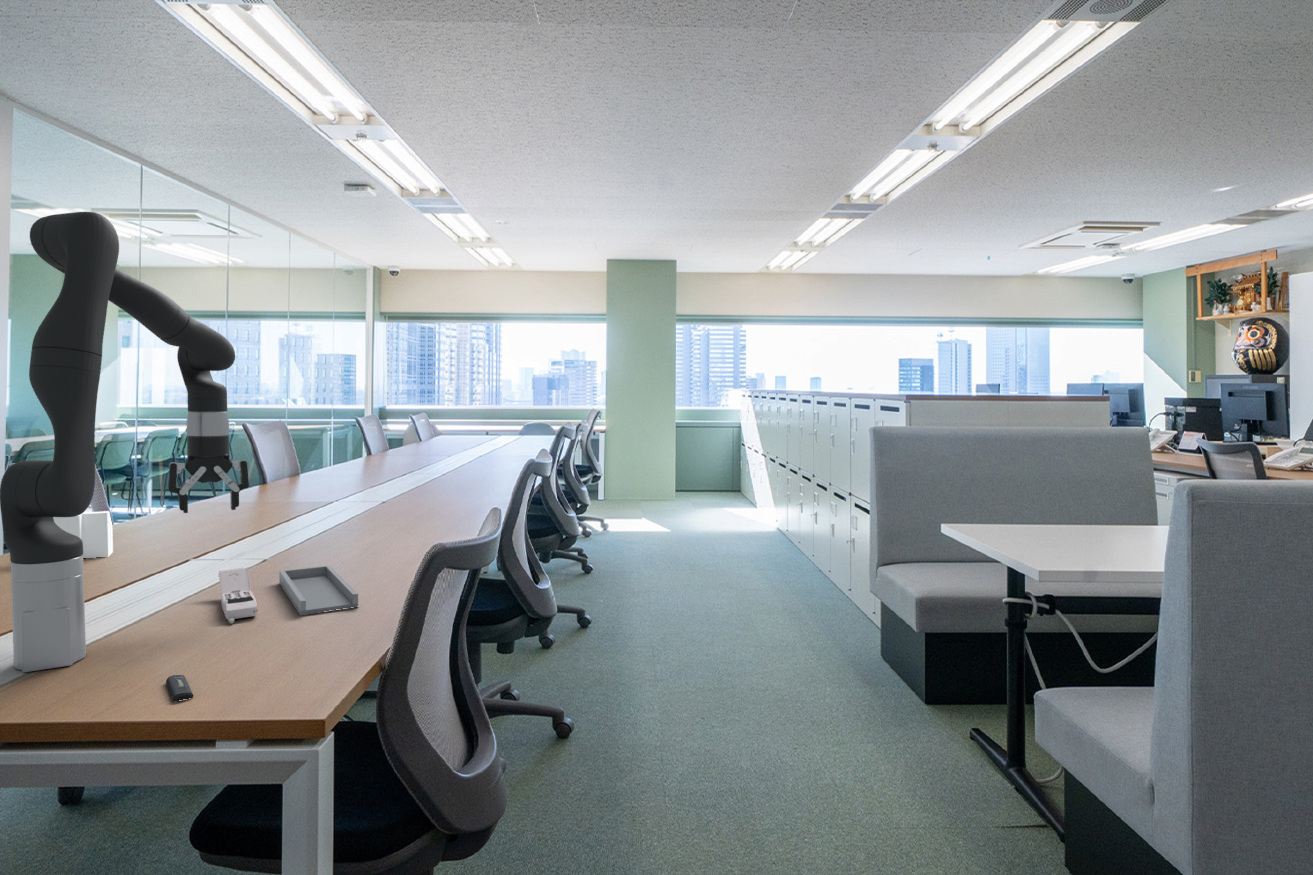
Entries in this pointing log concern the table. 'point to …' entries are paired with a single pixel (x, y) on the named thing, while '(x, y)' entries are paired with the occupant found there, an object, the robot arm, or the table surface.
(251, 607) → the mobile phone
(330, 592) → the phone dock
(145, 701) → the table surface
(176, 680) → the dark grey rounded bar
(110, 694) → the table surface
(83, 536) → the corner bracket
